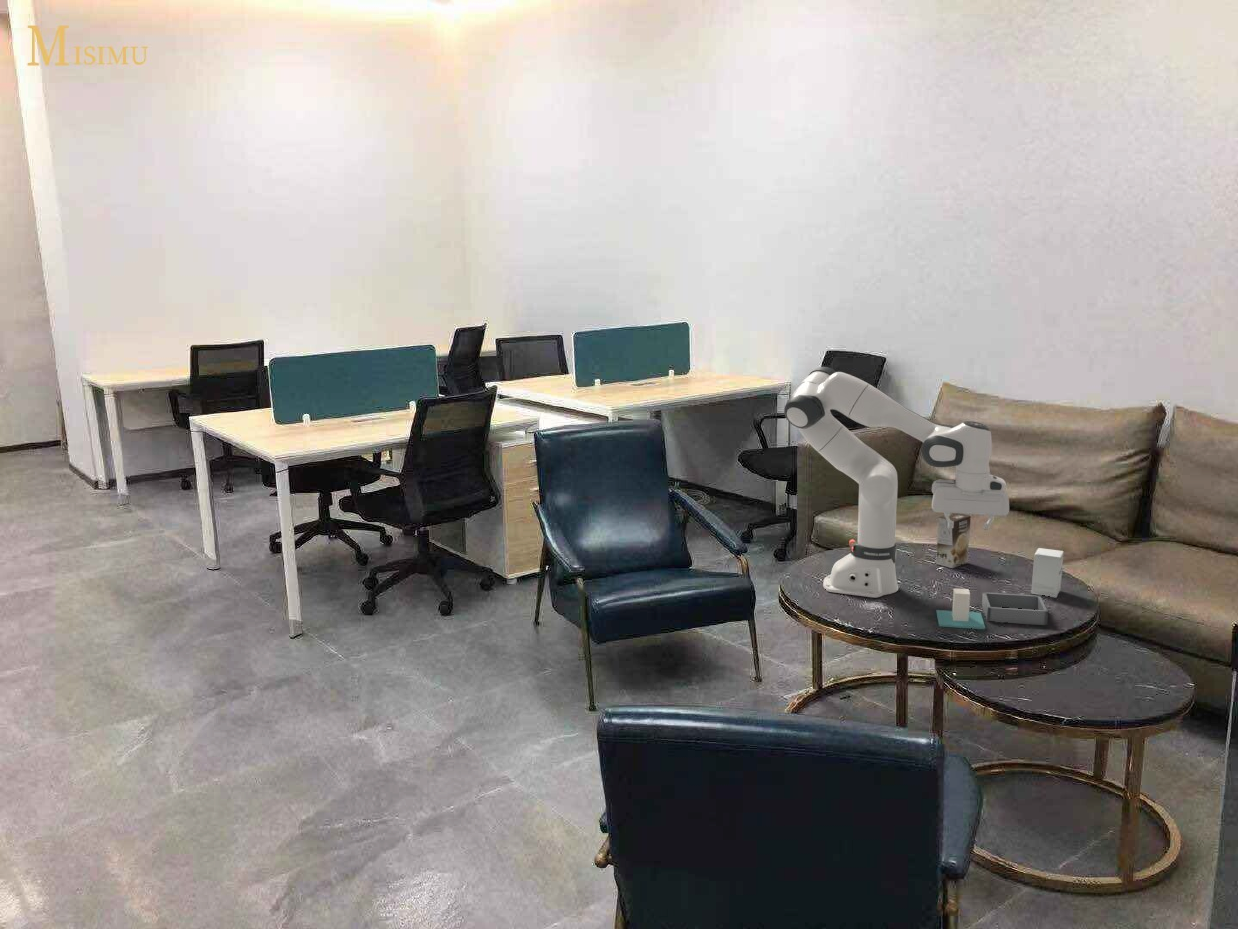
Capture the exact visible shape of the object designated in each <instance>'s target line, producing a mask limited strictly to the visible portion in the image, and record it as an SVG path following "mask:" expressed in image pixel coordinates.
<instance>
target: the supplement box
mask: <svg viewBox="0 0 1238 929" xmlns="http://www.w3.org/2000/svg"><path fill="white" fill-rule="evenodd" d="M1064 552H1065V551H1063V550H1058V549H1050V548H1049V549H1048V548H1041V547H1037V549H1036V551H1035V553H1034V555H1033V556H1034V557H1033V564H1032V566H1033V568H1032V578H1031V580H1032V581H1031V582H1032V583H1031V591H1030V593H1031V594H1030V595H1037V596H1042V595H1045V596H1044V597H1048V596H1050V598H1055V599H1056V598H1057V597H1058V595H1059V593H1060V592H1061V586H1062V578H1063V577H1062V576H1063V563H1064V555H1065V554H1064Z"/></svg>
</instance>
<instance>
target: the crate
mask: <svg viewBox="0 0 1238 929" xmlns="http://www.w3.org/2000/svg"><path fill="white" fill-rule="evenodd" d="M1041 596H1042V595H1036V594H1018V593H1002V592H1000V593H999V592H982V596H981V598H982V599H981V607H982V610H983V614H984V613H985V614H984V616H986V617H985V619H987V620H986V622H989V621H995V622H994V623H1004V622H1008V623H1009V624H1023V625H1037V626H1047V625H1048V618H1049V616H1048V615H1049V611H1048V609H1047V607H1046V605H1045V603H1044V600H1043V599H1042V597H1041ZM1002 607H1009V608H1002ZM1018 608H1022V609H1018ZM1034 609H1035V610H1034Z"/></svg>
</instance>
